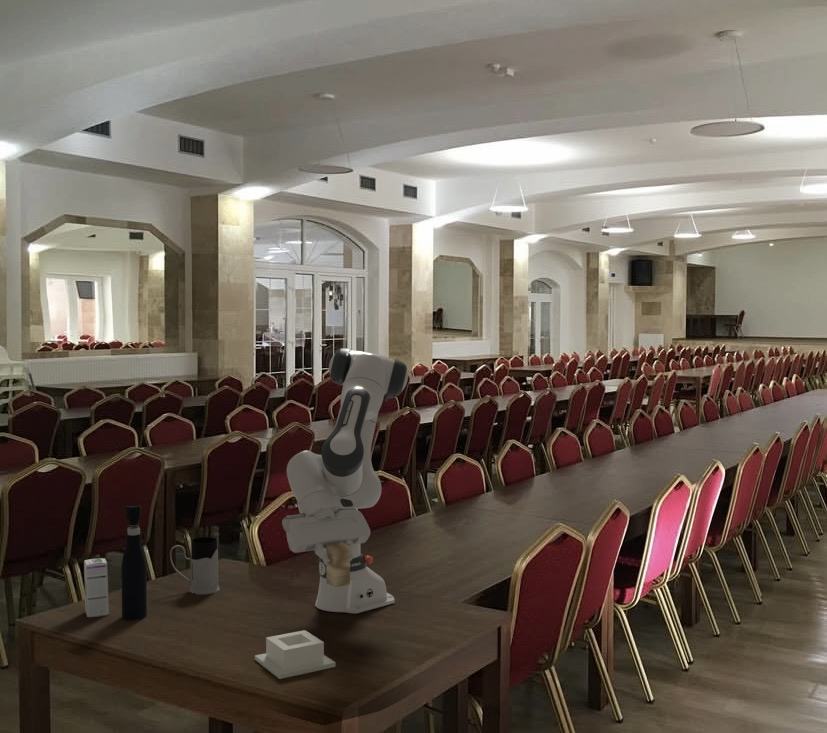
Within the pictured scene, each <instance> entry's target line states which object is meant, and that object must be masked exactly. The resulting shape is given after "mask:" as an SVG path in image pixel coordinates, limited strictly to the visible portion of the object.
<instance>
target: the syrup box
mask: <svg viewBox="0 0 827 733" xmlns="http://www.w3.org/2000/svg"><path fill="white" fill-rule="evenodd" d="M83 574H84V603H85V604H84V611H85V614H86V617H87V618H95V617H104V616H108V615H109V610H110V609H109V583H108V582H109V581H108V578H109V577H108V562H107V560H106V558H103V557H100V558H99V557H98V558H89V559H85V560H84V561H83Z"/></svg>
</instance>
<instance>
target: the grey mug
mask: <svg viewBox="0 0 827 733" xmlns="http://www.w3.org/2000/svg"><path fill="white" fill-rule="evenodd" d="M190 544H191V547H190V548H191V550H190V551H191V553H190V554H191V556H190V557H189V558H188V557H187V554H186V553H187V552H186V549H185V548H184V546H182V545H179V544H177V545H174V546H173V547H171V549H170V550H169V551H170V552H169V558H170V563H171V565H172V568H173V570H174V571H175V572H176V573H178V574H179V575H180V576H182V578H184V579H186V581H188V582H189V586H190V589H189V590H190V591H189V593H190V592H192V593H191V594H193V593H195V594H194V595H209V594H210V595H211V594H215V593H217V591H218V592H219V591H220V586H219V546H218V539H217V538H216V537H212V536H211V537H210V536H203V537H194V538H193V539H191V541H190ZM177 547H179V548H181V549H183V552H184V558H185V559H186V560H189V561H190V579H189V578H188V577H186V576H185V575H184V574H183V573H181V572H180V571H179V570H178V569H177V568H176V567H175V565H174V562H173V559H172V551H173V549H175V548H177Z"/></svg>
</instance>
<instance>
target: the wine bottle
mask: <svg viewBox="0 0 827 733" xmlns="http://www.w3.org/2000/svg"><path fill="white" fill-rule="evenodd" d="M141 518H142V505H141V504H129V505H126V506H125V519H127V520H128V524H127V525H128V527H127V530H126V531H127V532H126V533H127V534H126V536H125V537H126V538H125V540H126V542H125V543H126V544H125V548H124V551H123V555H122V558H121V618H122V619H123V620H126V621H137V620H143V619H144V618H146V617H147V615H148V610H147V608H148V602H147V600H148V599H147V598H148V597H147V596H148V595H147V594H148V593H147V591H148V590H147V583H148V582H147V558H146V555H145V552H144V548H143V546H142V535H141V531H140V530H141V528H140V526H139V519H141Z"/></svg>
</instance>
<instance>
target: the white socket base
mask: <svg viewBox="0 0 827 733" xmlns="http://www.w3.org/2000/svg"><path fill="white" fill-rule="evenodd" d="M265 645H266V646H265V648H266V649H265V653H261V654H256V655H254V660H255V661H256V662H257V663H259V665H261V666H262V667H263V668H264V669H266V670H267V671H269V672H270V673H271V674H272V675H274V677H276V678H277V679H279V680H281V679H285V678H286V679H287V678H290V677H294V676H295V677H296V676H299V675H300V676H301V675H305V674H309V673H314V672H319V671H322V670H327V669H331V668H332V669H333V668H336V664H337V663H336V662H335V661H334V660H332V659H331V658H329V657H328V656H326V655H325V650H324V649H325V648H324V647H325V642H324V641H323V640H321V639H319V638H318V637H317V636H315V635H313V634H311V633H310V632H308V631H307V630H306V629H303V630H299V631H292V632H288V633H283V634H279V635H278V634H277V635H271V636H267V637H265Z"/></svg>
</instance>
